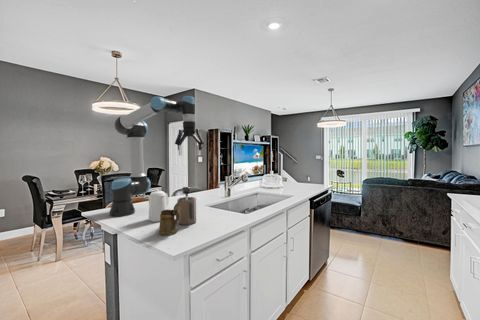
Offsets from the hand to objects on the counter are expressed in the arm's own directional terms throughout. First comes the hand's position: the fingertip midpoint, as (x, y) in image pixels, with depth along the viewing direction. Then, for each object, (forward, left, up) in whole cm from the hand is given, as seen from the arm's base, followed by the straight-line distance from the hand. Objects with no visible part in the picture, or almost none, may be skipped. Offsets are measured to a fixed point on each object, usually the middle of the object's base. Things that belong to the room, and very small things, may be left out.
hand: (189, 155), depth 147 cm
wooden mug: (+22, -22, -39) cm, 50 cm away
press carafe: (+12, -8, -39) cm, 41 cm away
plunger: (+11, -8, -37) cm, 39 cm away
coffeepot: (-6, -19, -39) cm, 44 cm away
